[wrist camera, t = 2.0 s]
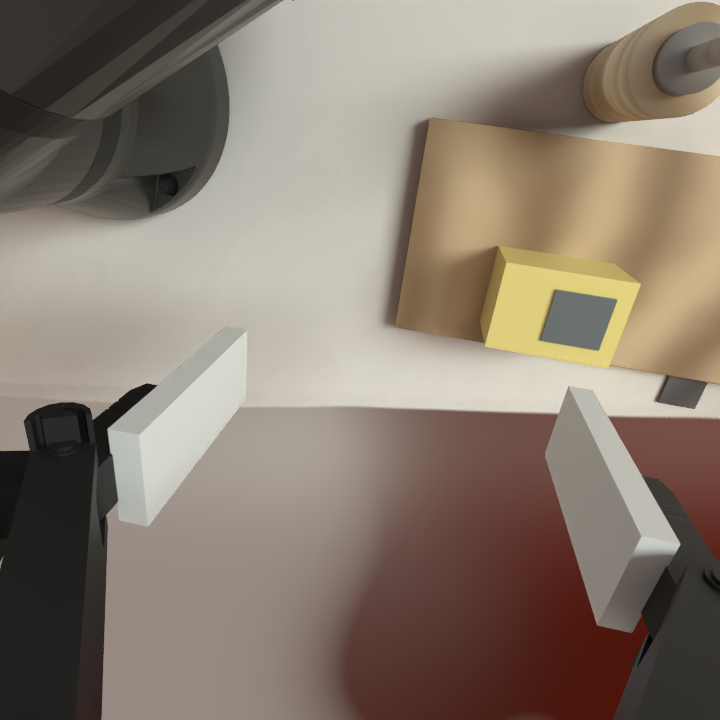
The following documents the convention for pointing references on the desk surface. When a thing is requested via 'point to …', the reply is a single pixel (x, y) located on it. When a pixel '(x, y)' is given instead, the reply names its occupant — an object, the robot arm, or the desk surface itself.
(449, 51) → the desk surface
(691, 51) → the awl
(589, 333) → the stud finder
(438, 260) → the board
